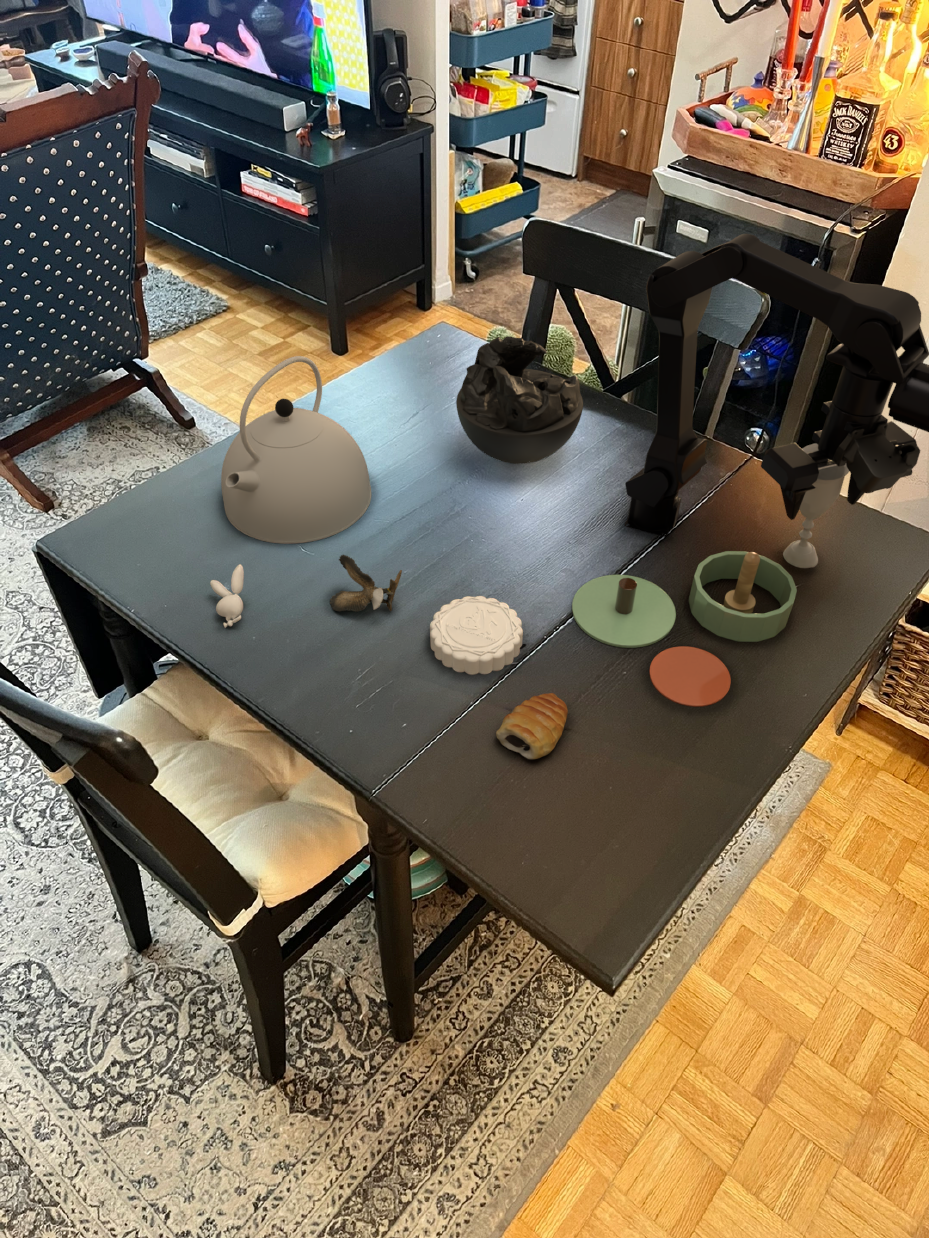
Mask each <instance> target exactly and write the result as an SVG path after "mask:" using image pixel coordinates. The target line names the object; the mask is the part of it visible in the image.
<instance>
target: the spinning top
mask: <svg viewBox="0 0 929 1238" xmlns="http://www.w3.org/2000/svg"><path fill="white" fill-rule="evenodd" d="M648 672H649V679H650V681H651V684H652V685H653V687H654V689H656V691H657V692H658V693H659V694H661V695H662V696H663V697H664V698H666V699H668V700H669V701H671V702H673V703H675V704H678V705H680V706H681V705H682V706H687V707H692V708H693V707H695V708H700V707H707V706H712V705H714V704H716V703H718V702H720V701H721V700H723V699H724V698H725V697H726V696H727V694H728V693H729V690H730V688H731V683H732V682H731V681H732V679H731V674H730V671H729V669H728V668H727V666H726V665H725V663H723V661H722V660H721V659H720V658H719V657H717V656H716V655H715V654H713V653H711V652H709V651H707V650H705V649H701V648H699V647H694V646H687V645H686V646H685V645H682V646H681V645H679V646H673V647H669V648H665V649H664V650H662V651H660V652H659V653H657V654H656V655H655V656H654V658H653V659H652V661H651V663H650V666H649V671H648Z"/></svg>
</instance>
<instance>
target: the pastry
mask: <svg viewBox="0 0 929 1238" xmlns="http://www.w3.org/2000/svg"><path fill="white" fill-rule="evenodd" d="M568 713H569V710H568V705H567V704H566V703H565V701H564V700H563V699H561V698H559V697H558V696H557V695H556V694H555V693H553V692H551V693H549V692H548V693H542V694H539V695H533V696H531V697H530V698H529V699H525V700H523V701H522V702H521V704H519V705H516V706H515V707H514V708H513V710H512V711H511V712H510V713H507V714H506V715H505V716H504V718H503V720H502V723H501V725H500V727H499V729H497V730H496V732H495V736H496V738H497V740H498V741H499V742H500V744H501V745H502V746H504V747H505V748H507V749H508V750H511V751H512V752H516V753H519V754H520V755H521V756H522V757H524V758H525V759H527V760H538V759H540V758H542V757H545V756H547V755H549V754H550V753H551V752H552V751H553V750H554V749H555V747H556V745H557V744H558V742H559V740H560V739H561V737H562V735H563V731H564V728H565V725H566V722H567V718H568Z"/></svg>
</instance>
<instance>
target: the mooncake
mask: <svg viewBox="0 0 929 1238" xmlns="http://www.w3.org/2000/svg"><path fill="white" fill-rule="evenodd" d="M522 624H523V622H522V620H521V618H519V617H518V614H517V611H516V610H515V609H512V608H510V607H509V605H508V604H507V603H506V602H500V601H499V600H498V599H496V598H493V597H488V598H486V597H485V596H483V595H477V596H469V595H468V596H464V597H462V598H461V599H459V598H457V599H456V598H455V599H453V600H451V601H450V602H449V603H447V604H443V605H442V606H441V607H440V609H439V611H436V612H435V613H434V614H433V619H432V621H431V622H430V624H429V634H430V635H429V637H430V639H429V640H430V648H431V650H432V651H433V652H434V657H435V658H436V660H439V661H441V663H442V665H443V666H444V667H446V668H452V670H453V671H455V672H456V673H464V672H465V673H466V674H468V675H471V676H472V675H477V674H481V675H488V674H490V673H492V671H493V672H499V671H501V670H502V669H504V668H505V666H509V665H511V664H512V663H513V662H514V658H517V657H518V656H519V655H520V652H521V651H520V650H521V648H522V646H523V637H524V636H523V635H524V633H523V632H524V630H523V627H522Z"/></svg>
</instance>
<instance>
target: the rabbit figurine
mask: <svg viewBox="0 0 929 1238" xmlns="http://www.w3.org/2000/svg"><path fill="white" fill-rule="evenodd" d="M244 571H245V570H244V567H243V564H241V563H240V564H237V566H236V567H235V568H234V569H233V572H232V574H231V579H230V580H231V581H230V586H231V587H230V588H231V591H230V590H228V589H227V587H225V586H224V584H222V582H220V581H218V580H216V579H211V580H210V587H211V589H212V590H213V592H214V593H215V594H216V595H218V596H219V597H221V599H220V600H219V601H218V602H217V604H216V607H215V611H216V613H217V614H218V615H219V616H220V617H222V618H223V617H224V618H225V621H226V622H223V624H222V625H223V627H224V629H226V628H227V627H232V626H233V625H234V624H235V623H237V622H239V621H241V619H242V615H241V614H242V613H243V611H244V602H243V599H242V598H241V596H239V594H240V593H242V591H243V588H244V579H245V578H244V577H245V572H244Z"/></svg>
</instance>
